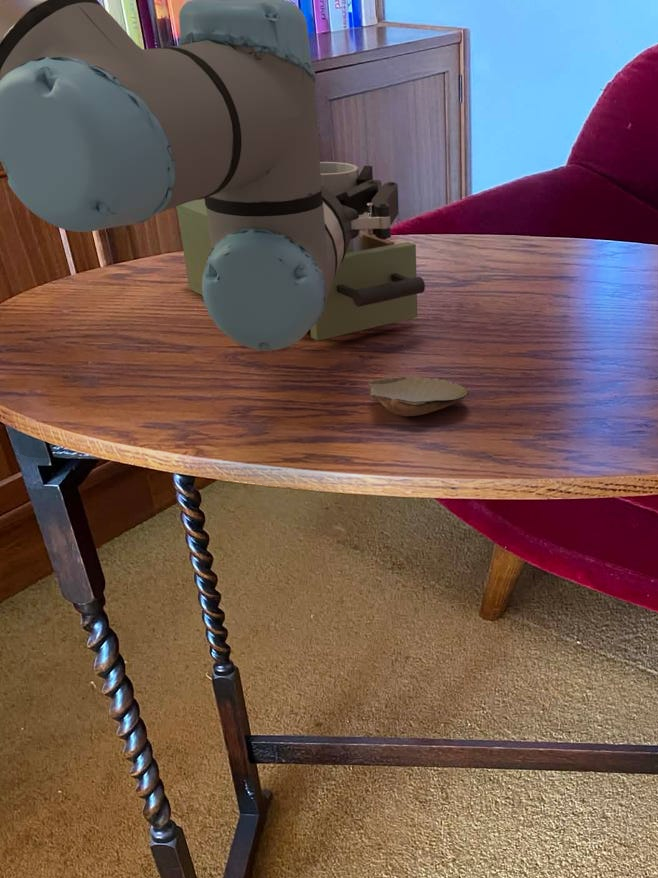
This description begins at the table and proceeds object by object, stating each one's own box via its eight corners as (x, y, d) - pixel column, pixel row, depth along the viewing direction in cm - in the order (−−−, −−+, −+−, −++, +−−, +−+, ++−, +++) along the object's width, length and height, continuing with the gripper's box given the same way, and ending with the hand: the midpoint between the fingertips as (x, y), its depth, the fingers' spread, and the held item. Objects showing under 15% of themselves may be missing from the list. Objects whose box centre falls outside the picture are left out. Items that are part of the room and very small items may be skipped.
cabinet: (364, 300, 100) (359, 212, 95) (257, 324, 94) (245, 230, 89) (291, 270, 109) (283, 188, 104) (189, 289, 103) (175, 203, 98)
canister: (287, 258, 91) (278, 166, 87) (340, 249, 94) (334, 159, 90) (321, 272, 88) (313, 176, 83) (375, 262, 91) (371, 169, 86)
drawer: (444, 328, 91) (444, 253, 87) (343, 353, 85) (337, 274, 81) (341, 285, 102) (336, 217, 98) (244, 305, 96) (235, 233, 92)
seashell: (474, 423, 79) (396, 382, 81) (485, 389, 78) (405, 348, 80) (422, 443, 73) (339, 398, 75) (434, 406, 71) (348, 361, 73)
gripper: (178, 289, 75) (238, 221, 94) (422, 292, 75) (433, 223, 94) (160, 185, 71) (227, 135, 89) (419, 188, 71) (432, 138, 90)
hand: (333, 180), depth 92 cm, fingers closed on canister, 6 cm apart
